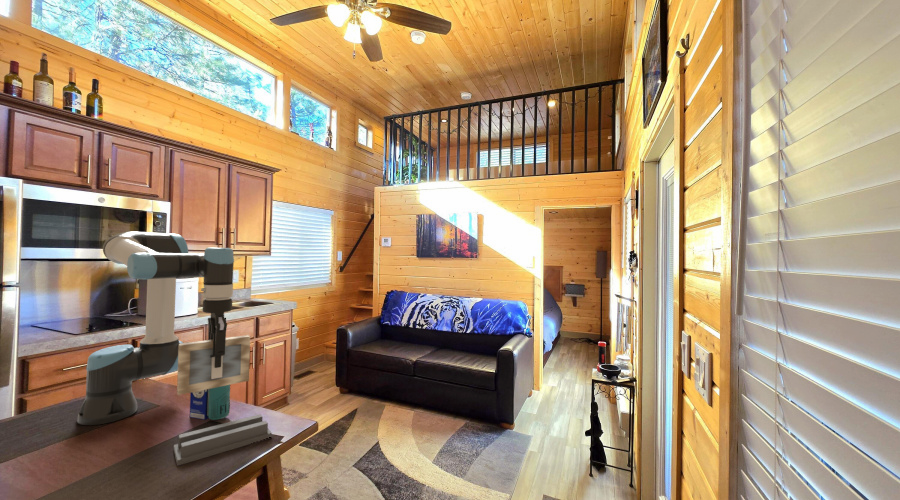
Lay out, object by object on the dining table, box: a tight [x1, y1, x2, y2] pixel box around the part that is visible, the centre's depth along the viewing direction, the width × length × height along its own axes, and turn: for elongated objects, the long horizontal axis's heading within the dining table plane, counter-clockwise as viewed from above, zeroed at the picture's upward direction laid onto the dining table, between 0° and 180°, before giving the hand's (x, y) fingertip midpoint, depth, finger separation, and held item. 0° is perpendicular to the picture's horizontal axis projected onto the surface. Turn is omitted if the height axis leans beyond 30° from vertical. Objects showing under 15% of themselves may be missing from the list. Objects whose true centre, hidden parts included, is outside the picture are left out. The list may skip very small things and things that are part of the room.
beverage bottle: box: [208, 385, 231, 420], centre depth 125 cm, size 6×7×20 cm
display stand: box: [173, 413, 272, 467], centre depth 110 cm, size 24×10×4 cm, turn 132°
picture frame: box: [176, 334, 251, 396], centre depth 109 cm, size 18×3×14 cm, turn 134°
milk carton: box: [189, 389, 209, 421], centre depth 128 cm, size 7×7×20 cm
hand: (215, 376), depth 109 cm, fingers closed on picture frame, 3 cm apart
